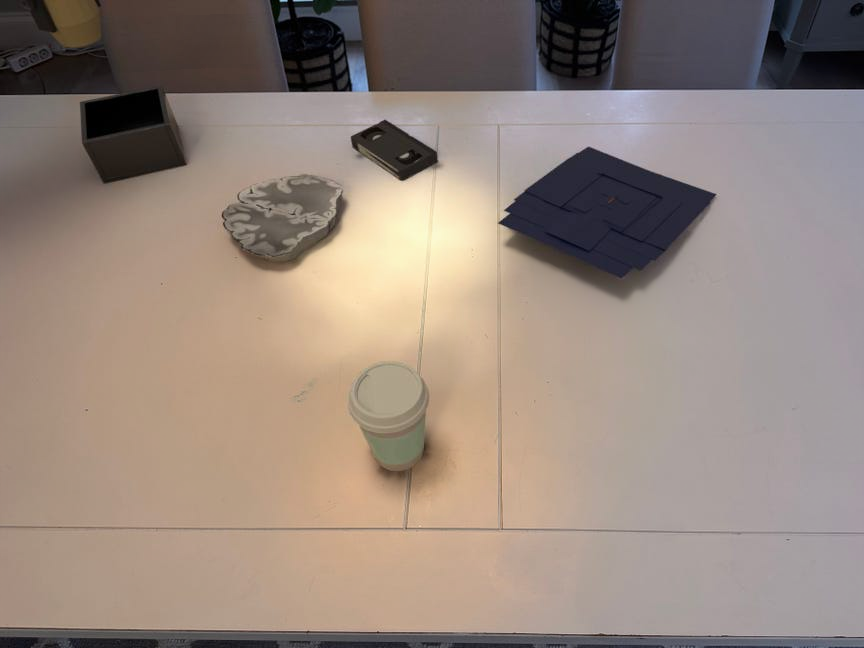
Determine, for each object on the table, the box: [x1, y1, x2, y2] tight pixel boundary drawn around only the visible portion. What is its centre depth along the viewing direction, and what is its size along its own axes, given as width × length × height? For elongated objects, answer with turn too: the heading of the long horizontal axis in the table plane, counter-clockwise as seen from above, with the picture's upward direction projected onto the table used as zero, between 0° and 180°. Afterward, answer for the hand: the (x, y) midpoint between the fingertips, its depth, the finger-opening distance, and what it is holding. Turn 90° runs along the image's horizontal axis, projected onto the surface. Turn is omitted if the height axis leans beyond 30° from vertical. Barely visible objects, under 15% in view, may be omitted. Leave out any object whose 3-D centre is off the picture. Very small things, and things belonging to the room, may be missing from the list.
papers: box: [497, 146, 717, 280], centre depth 104 cm, size 24×30×4 cm
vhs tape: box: [350, 119, 439, 181], centre depth 117 cm, size 14×8×2 cm, turn 43°
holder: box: [79, 85, 187, 185], centre depth 116 cm, size 14×14×8 cm
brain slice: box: [221, 173, 344, 262], centre depth 104 cm, size 20×17×3 cm
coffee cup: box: [347, 360, 430, 472], centre depth 74 cm, size 8×8×12 cm
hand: (70, 17), depth 98 cm, fingers closed on squeeze bottle, 8 cm apart
